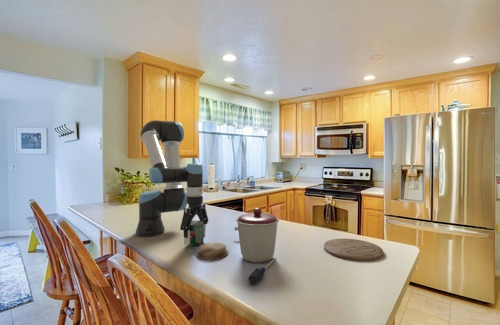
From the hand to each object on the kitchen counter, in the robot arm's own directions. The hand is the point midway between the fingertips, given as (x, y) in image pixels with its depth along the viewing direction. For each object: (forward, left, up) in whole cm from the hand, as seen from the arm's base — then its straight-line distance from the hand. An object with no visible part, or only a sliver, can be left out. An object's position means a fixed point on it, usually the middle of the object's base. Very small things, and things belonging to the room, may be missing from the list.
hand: (195, 240), depth 128 cm
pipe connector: (+17, +19, -2) cm, 26 cm away
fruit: (+19, +41, -2) cm, 45 cm away
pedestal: (+14, -6, -2) cm, 15 cm away
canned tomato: (0, 0, -2) cm, 2 cm away
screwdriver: (+42, -12, -3) cm, 44 cm away
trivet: (+69, +25, -3) cm, 73 cm away
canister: (+34, -2, -2) cm, 34 cm away
